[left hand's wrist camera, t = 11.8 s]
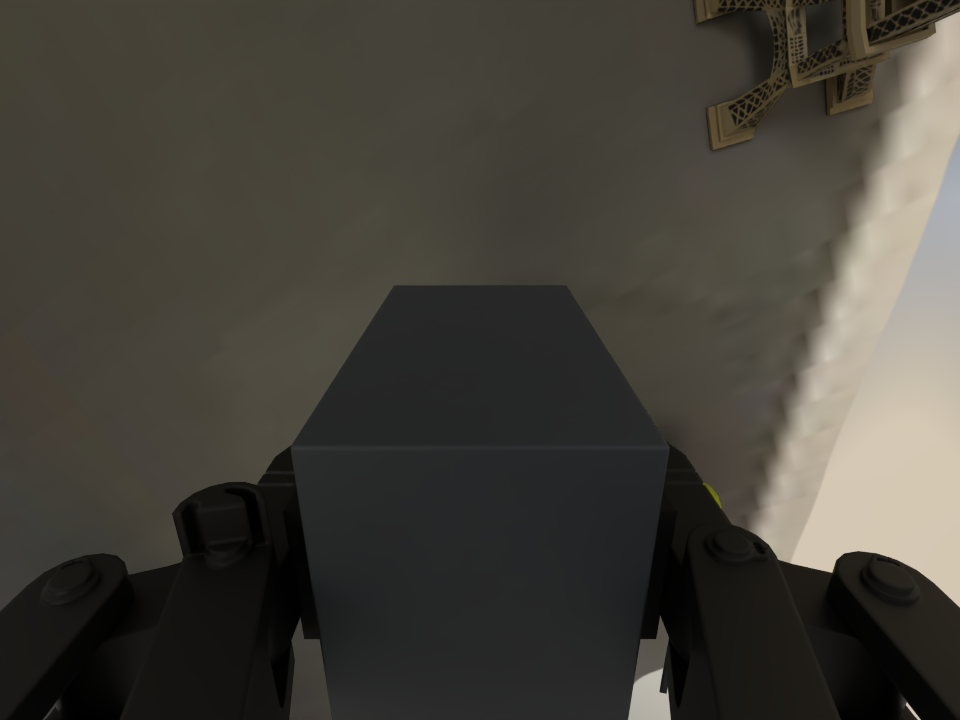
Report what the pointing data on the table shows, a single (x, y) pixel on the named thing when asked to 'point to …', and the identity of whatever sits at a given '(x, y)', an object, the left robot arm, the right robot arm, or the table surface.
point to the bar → (480, 512)
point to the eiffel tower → (820, 54)
